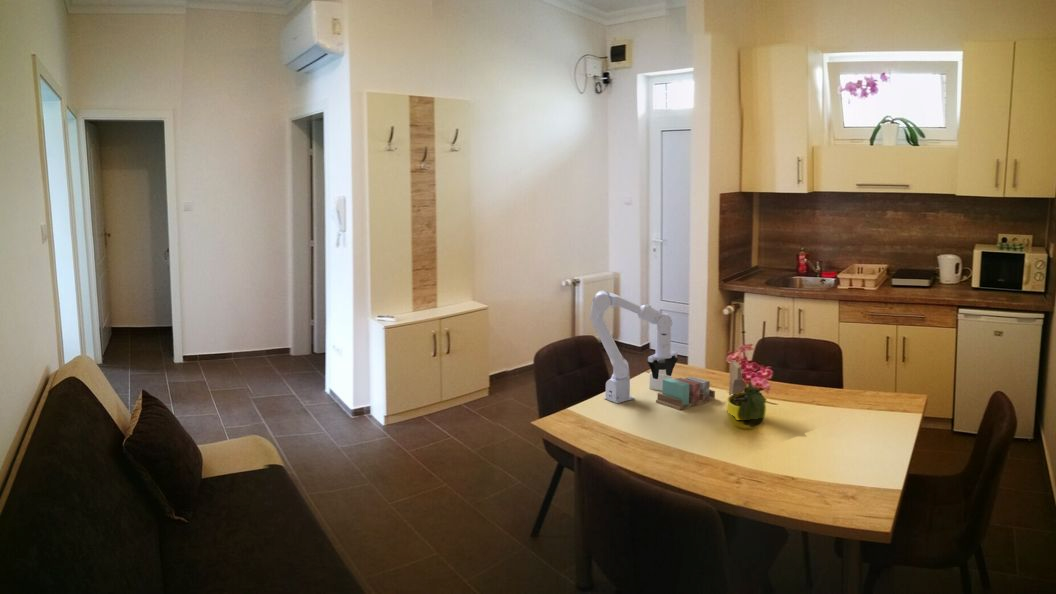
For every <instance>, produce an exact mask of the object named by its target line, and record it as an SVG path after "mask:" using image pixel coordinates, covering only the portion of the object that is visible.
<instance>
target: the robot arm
mask: <svg viewBox="0 0 1056 594" xmlns="http://www.w3.org/2000/svg"><path fill="white" fill-rule="evenodd" d="M610 307H611V308H617V307H620V308H622V309H625V310H627V311H628V312H629V311H630V312H632V313H635V314H636V315H637V316H638V318H639V319H641V320H642V321H645V322H648V323H650V324H652V325H656V331H655V353H654V354H652V355H650V356H647V364H648V366H649V369H650V372H652V376H653V378H654V379H658V376H659V368H660V365H661V363H658V362H657V361H658V360H662V359H663V360H665V364H666V375H668V376H671V377H672V375H673V371H674V369H675V366H676V364H677V362H678V352H677V351H672V350H671V343H672V342H671V341H672V340H671V338H672V333H671V331H672V328H671V327H672V325H673V319H672V317H671V315H670V314H669V313H668V312H666V311H663V310H661V309H660V310H659V309H657V308H654V307H652V305H651V304H643V305H639V304H638V303H635V302H632V301H630V300H628V299H627V298H624V297H622V296H620V295H618V294H615V293H613V292H608V291H606V290H603V289H602V290H599V291H597V292H596V293H595V295H594V297H593V299H592V302H591V309H590V314H589V319H590V321H591V323H592V326H593V328H594V329H595V332H596V333H597V337H598V338H599V340H600V341H601V343H602V346H603V348H604V349H605V351H606V354H607V356H608V358H609V360H610V364H611V366H612V372H613V373H612V374H611V377H610V379H608V380H607V381H606V382H605V396H604V397H603V398H604V399H605V400H607V401H609V402H610V401H611V402H612V403H615V404H621V403H623V402H627V401H631V400H635V396H631V395H630V394H631V391H630V390H631V389H630V388H631V376H630V368H629V365H630V364H629V362H628V361H627V360H626V359H625V358H624V356H623V354H622V353H621V352H620V350H619V348H618V345H617V344H616V342H615V340H614V338H613V335H612V334H611V332H610V329H609V328H608V325H607V323H606V321H605V319H604V316H605V313H606V311H607V310H608V309H609V308H610Z"/></svg>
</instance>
